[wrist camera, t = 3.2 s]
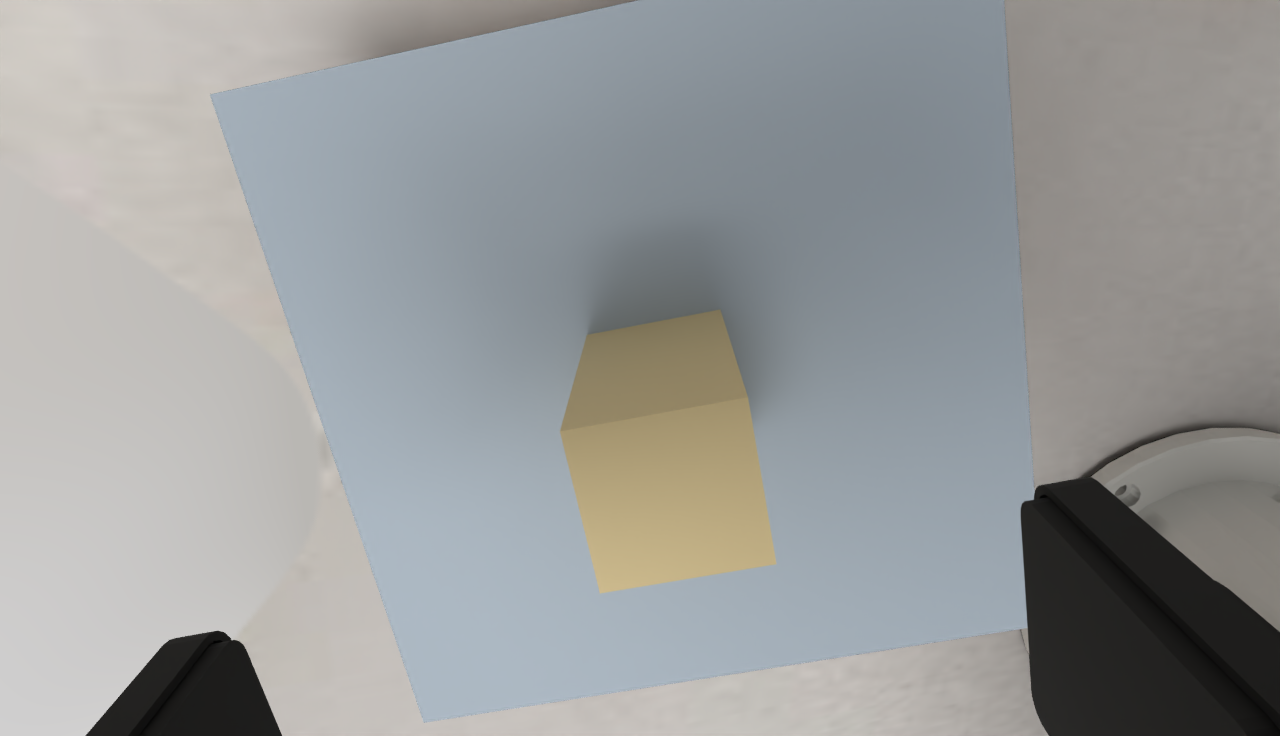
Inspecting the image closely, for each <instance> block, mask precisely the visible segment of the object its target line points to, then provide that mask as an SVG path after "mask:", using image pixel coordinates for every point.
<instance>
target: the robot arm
mask: <svg viewBox="0 0 1280 736" xmlns="http://www.w3.org/2000/svg"><path fill="white" fill-rule="evenodd" d="M1021 531H1022V547H1023V563H1024V579H1025V595H1026V611H1027V627H1028V628H1024V629H1021V632H1022V636H1023V640H1024V644H1025V648H1026V650H1027V652H1028V654H1029V659H1030V675H1031V690H1032V697H1033V701H1034V705H1035V708H1036V711H1037V714H1038V717H1039V719H1040V721H1041V723H1042V725H1043V727H1044V729H1045V730H1046V732H1047V733H1048V735H1049V736H1280V434H1279V433H1274V432H1269V431H1263V430H1258V429H1252V428H1209V429H1203V430H1197V431H1191V432H1186V433H1180V434H1175V435H1172V436H1169V437H1166V438H1164V439H1161V440H1158V441H1155V442H1152V443H1149V444H1146V445H1143V446H1141V447H1139V448H1137V449H1135V450H1133V451H1131V452H1129V453H1127V454H1125V455H1124V456H1122V457H1120V458H1118V459H1116V460H1114V461H1112V462H1110V463H1108V464H1107V465H1106V466H1104V467H1103V468H1102V469H1100V470H1099V471H1098V472H1096V473H1095V474H1094V475H1092V476H1091V477H1085V478H1079V479H1074V480H1068V481H1062V482H1057V483H1051V484H1045V485H1040V486H1038V487H1037V488H1036V490H1035V494H1034V500H1029V501H1024V502H1023V503H1022V505H1021ZM86 736H282V735H281V732H280V730H279V727H278V725H277V723H276V720H275V718H274V715H273V713H272V711H271V708H270V706H269V703H268V701H267V699H266V696H265V694H264V691H263V689H262V687H261V684H260V682H259V679H258V677H257V675H256V672H255V670H254V667H253V665H252V663H251V660H250V658H249V655H248V653H247V651H246V649H245V647H244V645H243V644H242V643H240V642H239V641H236V640H231V638H230V637H229V636H227V634H226V633H224V632H220V631H214V632H208V633H202V634H197V635H192V636H185V637H180V638H175V639H172V640H169V641H168V642H167V643H165V644H164V645H163V646H162V647H161V648H160V649H159V651H158V652H157V653H156V654H155V655H154V656H153V658H152V659H151V660H150V661H149V662H148V663H147V665H146V666H145V667H144V668H143V670H142V671H141V672H140V673H139V674H138V675H137V676H136V677H135V679H134V680H133V681H132V682H131V683H130V684H129V686H128V687H127V688H126V689H125V690H124V692H123V693H122V694H121V695H120V696H119V697H118V699H117V700H116V701H115V702H114V703H113V704H112V706H111V707H110V708H109V709H108V710H107V711H106V713H105V714H104V715H103V716H102V717H101V718H100V720H99V721H98V722H97V723H96V724H95V725H94V727H93V728H92V729H91V730H90V731H89V732H88V734H87V735H86Z"/></svg>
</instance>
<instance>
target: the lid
mask: <svg viewBox="0 0 1280 736" xmlns="http://www.w3.org/2000/svg"><path fill="white" fill-rule="evenodd" d="M210 96H211V99H212V102H213V105H214V108H215V111H216V114H217V117H218V120H219V123H220V126H221V129H222V131H223V134H224V137H225V140H226V143H227V146H228V149H229V152H230V155H231V158H232V161H233V164H234V167H235V170H236V173H237V175H238V178H239V181H240V184H241V187H242V190H243V193H244V196H245V199H246V202H247V205H248V208H249V211H250V214H251V217H252V219H253V222H254V225H255V228H256V231H257V234H258V237H259V240H260V243H261V246H262V249H263V252H264V255H265V258H266V261H267V264H268V266H269V269H270V272H271V275H272V278H273V281H274V284H275V287H276V290H277V293H278V296H279V299H280V302H281V305H282V308H283V310H284V313H285V316H286V319H287V322H288V325H289V328H290V331H291V334H292V337H293V340H294V343H295V346H296V349H297V352H298V355H299V357H300V360H301V363H302V366H303V369H304V372H305V375H306V378H307V381H308V384H309V387H310V390H311V393H312V396H313V399H314V401H315V404H316V407H317V410H318V413H319V416H320V419H321V422H322V425H323V428H324V431H325V434H326V437H327V440H328V443H329V445H330V448H331V451H332V454H333V457H334V460H335V463H336V466H337V469H338V472H339V475H340V478H341V481H342V484H343V487H344V490H345V492H346V495H347V498H348V501H349V504H350V507H351V510H352V513H353V516H354V519H355V522H356V525H357V528H358V531H359V534H360V536H361V539H362V542H363V545H364V548H365V551H366V554H367V557H368V560H369V563H370V566H371V569H372V572H373V575H374V578H375V580H376V583H377V586H378V589H379V592H380V595H381V598H382V601H383V604H384V607H385V610H386V613H387V616H388V619H389V622H390V625H391V627H392V630H393V633H394V636H395V639H396V642H397V645H398V648H399V651H400V654H401V657H402V660H403V663H404V666H405V669H406V671H407V674H408V677H409V680H410V683H411V686H412V689H413V692H414V695H415V698H416V701H417V704H418V707H419V710H420V713H421V716H422V718H423V721H424V723H425V722H431V721H437V720H444V719H450V718H457V717H463V716H469V715H476V714H482V713H488V712H495V711H501V710H508V709H514V708H520V707H527V706H533V705H539V704H546V703H552V702H559V701H565V700H571V699H578V698H584V697H590V696H597V695H603V694H610V693H616V692H622V691H629V690H635V689H642V688H648V687H654V686H661V685H667V684H673V683H680V682H686V681H693V680H699V679H705V678H712V677H718V676H724V675H731V674H737V673H744V672H750V671H756V670H763V669H769V668H775V667H782V666H788V665H795V664H801V663H807V662H814V661H820V660H826V659H833V658H839V657H846V656H852V655H858V654H865V653H871V652H877V651H884V650H890V649H897V648H903V647H909V646H916V645H922V644H928V643H935V642H941V641H948V640H954V639H960V638H967V637H973V636H979V635H986V634H992V633H999V632H1005V631H1011V630H1018V629H1024V628H1028V627H1027V611H1026V595H1025V579H1024V563H1023V547H1022V531H1021V505H1022V503H1023V502H1024V501H1029V500H1034V494H1035V492H1034V476H1033V460H1032V443H1031V427H1030V411H1029V395H1028V379H1027V363H1026V346H1025V330H1024V314H1023V298H1022V282H1021V265H1020V249H1019V233H1018V217H1017V201H1016V185H1015V168H1014V152H1013V136H1012V120H1011V104H1010V88H1009V71H1008V55H1007V39H1006V23H1005V7H1004V0H637V1H633V2H628V3H624V4H619V5H614V6H610V7H605V8H601V9H596V10H592V11H587V12H583V13H578V14H574V15H569V16H564V17H560V18H555V19H551V20H546V21H542V22H537V23H533V24H528V25H524V26H519V27H514V28H510V29H505V30H501V31H496V32H492V33H487V34H483V35H478V36H474V37H469V38H464V39H460V40H455V41H451V42H446V43H442V44H437V45H433V46H428V47H424V48H419V49H415V50H410V51H405V52H401V53H396V54H392V55H387V56H383V57H378V58H374V59H369V60H365V61H360V62H355V63H351V64H346V65H342V66H337V67H333V68H328V69H324V70H319V71H315V72H310V73H305V74H301V75H296V76H292V77H287V78H283V79H278V80H274V81H269V82H265V83H260V84H255V85H251V86H246V87H242V88H237V89H233V90H228V91H224V92H219V93H215V94H210Z"/></svg>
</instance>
